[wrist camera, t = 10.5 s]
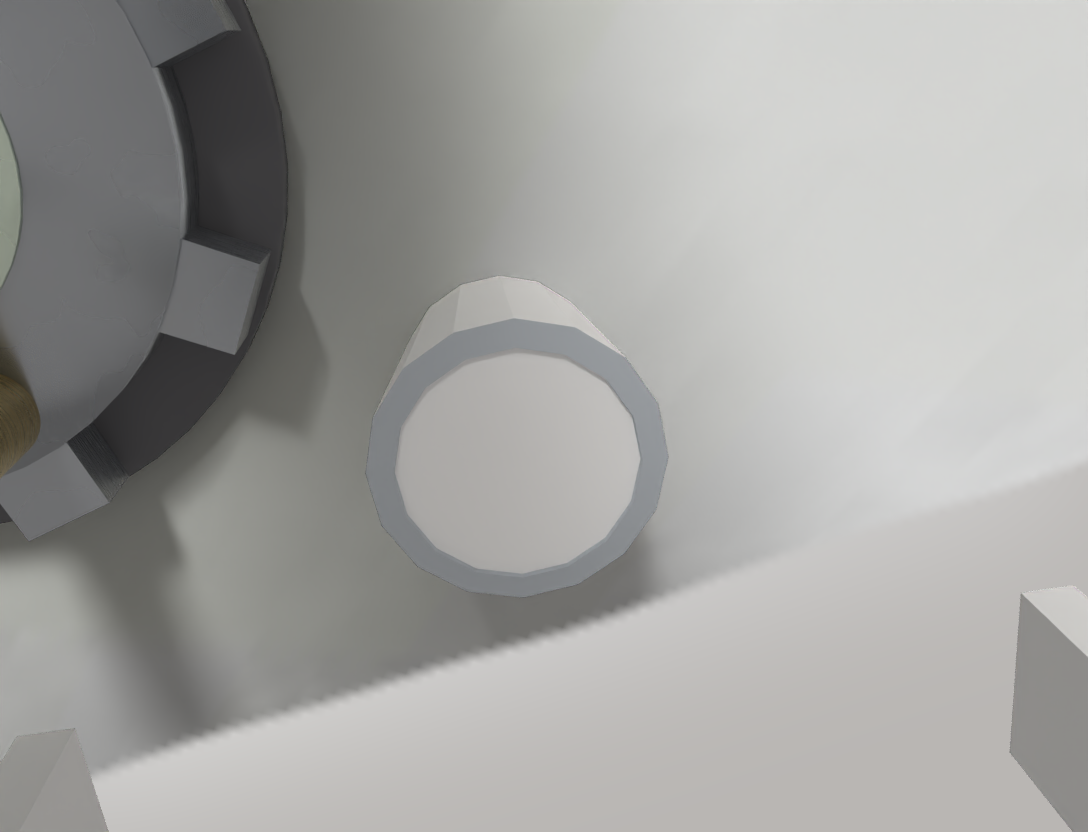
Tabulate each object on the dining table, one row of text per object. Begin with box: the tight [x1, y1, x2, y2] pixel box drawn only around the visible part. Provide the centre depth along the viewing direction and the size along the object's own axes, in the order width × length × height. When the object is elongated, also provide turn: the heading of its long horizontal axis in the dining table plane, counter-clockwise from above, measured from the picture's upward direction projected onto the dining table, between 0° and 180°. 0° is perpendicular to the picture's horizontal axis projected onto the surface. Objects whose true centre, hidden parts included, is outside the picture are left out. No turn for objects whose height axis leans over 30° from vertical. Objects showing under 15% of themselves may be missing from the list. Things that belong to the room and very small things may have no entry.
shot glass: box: [366, 276, 668, 598], centre depth 26 cm, size 7×7×7 cm
